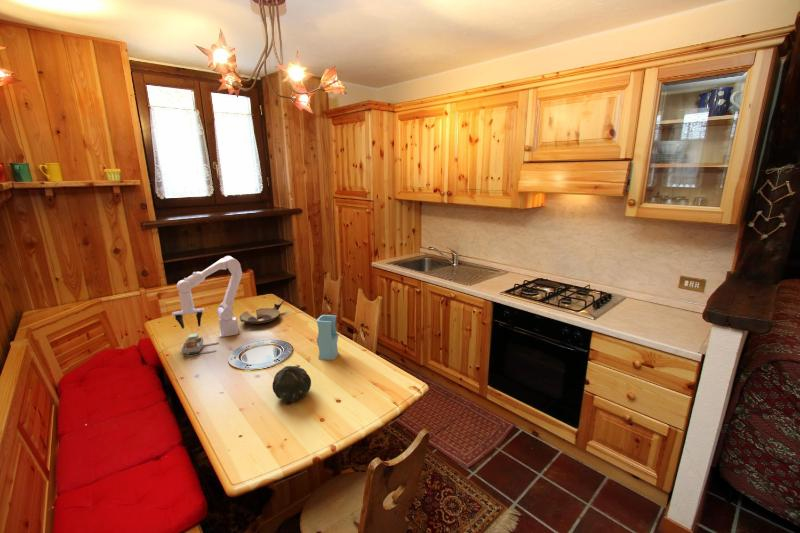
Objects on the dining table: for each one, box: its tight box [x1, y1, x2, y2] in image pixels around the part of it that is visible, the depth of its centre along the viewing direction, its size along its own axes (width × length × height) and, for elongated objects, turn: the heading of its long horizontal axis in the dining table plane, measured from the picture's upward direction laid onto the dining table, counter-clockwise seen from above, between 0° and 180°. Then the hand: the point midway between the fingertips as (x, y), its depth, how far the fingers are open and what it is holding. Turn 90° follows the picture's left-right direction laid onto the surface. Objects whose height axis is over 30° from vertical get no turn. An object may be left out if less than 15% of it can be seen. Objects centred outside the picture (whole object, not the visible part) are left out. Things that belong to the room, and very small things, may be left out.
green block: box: [187, 332, 200, 339], centre depth 195 cm, size 4×4×4 cm
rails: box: [182, 341, 220, 358], centre depth 188 cm, size 15×10×1 cm
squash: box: [271, 365, 312, 404], centre depth 147 cm, size 14×15×15 cm
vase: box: [316, 314, 339, 361], centre depth 177 cm, size 8×8×20 cm
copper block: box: [184, 338, 197, 348], centre depth 183 cm, size 4×4×4 cm
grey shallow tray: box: [180, 337, 204, 356], centre depth 186 cm, size 8×11×4 cm
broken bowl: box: [239, 299, 284, 325], centre depth 222 cm, size 22×30×8 cm
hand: (191, 326), depth 193 cm, fingers open, 7 cm apart
